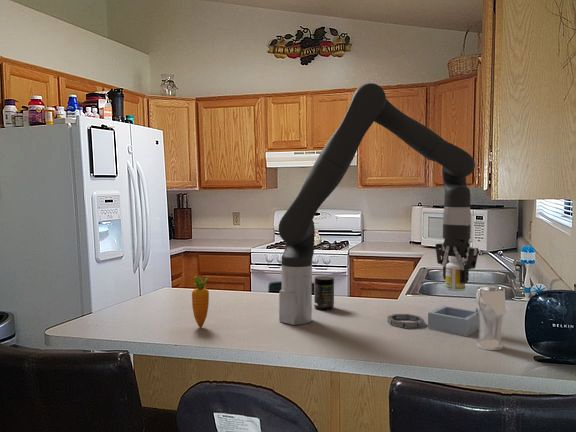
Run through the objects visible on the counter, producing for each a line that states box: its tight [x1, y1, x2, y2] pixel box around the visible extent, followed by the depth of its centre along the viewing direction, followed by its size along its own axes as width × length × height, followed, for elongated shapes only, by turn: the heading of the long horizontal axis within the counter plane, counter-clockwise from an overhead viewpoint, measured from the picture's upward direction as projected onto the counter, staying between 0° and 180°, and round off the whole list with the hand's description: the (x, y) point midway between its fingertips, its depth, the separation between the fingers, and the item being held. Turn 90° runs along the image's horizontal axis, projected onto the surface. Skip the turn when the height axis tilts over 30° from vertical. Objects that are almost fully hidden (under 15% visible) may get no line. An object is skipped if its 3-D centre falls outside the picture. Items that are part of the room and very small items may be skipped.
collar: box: [386, 313, 425, 329], centre depth 141 cm, size 10×10×2 cm
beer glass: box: [475, 285, 506, 351], centre depth 120 cm, size 7×7×15 cm
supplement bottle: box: [444, 256, 466, 292], centre depth 135 cm, size 5×5×10 cm
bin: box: [427, 305, 478, 337], centre depth 136 cm, size 11×11×5 cm
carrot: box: [191, 275, 210, 328], centre depth 135 cm, size 5×5×15 cm
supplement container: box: [313, 275, 335, 311], centre depth 158 cm, size 7×7×10 cm
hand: (455, 281), depth 135 cm, fingers closed on supplement bottle, 5 cm apart
